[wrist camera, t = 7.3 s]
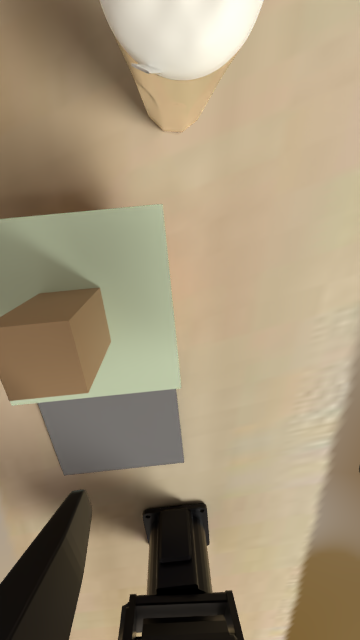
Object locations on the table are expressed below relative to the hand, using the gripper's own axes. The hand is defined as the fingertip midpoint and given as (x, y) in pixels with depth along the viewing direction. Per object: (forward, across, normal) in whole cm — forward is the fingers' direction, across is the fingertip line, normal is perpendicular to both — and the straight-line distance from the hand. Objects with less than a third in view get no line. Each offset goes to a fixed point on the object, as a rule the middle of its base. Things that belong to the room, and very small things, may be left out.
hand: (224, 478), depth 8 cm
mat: (+12, +7, +7) cm, 16 cm away
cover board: (+8, +6, -4) cm, 10 cm away
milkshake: (+12, 0, -14) cm, 18 cm away
